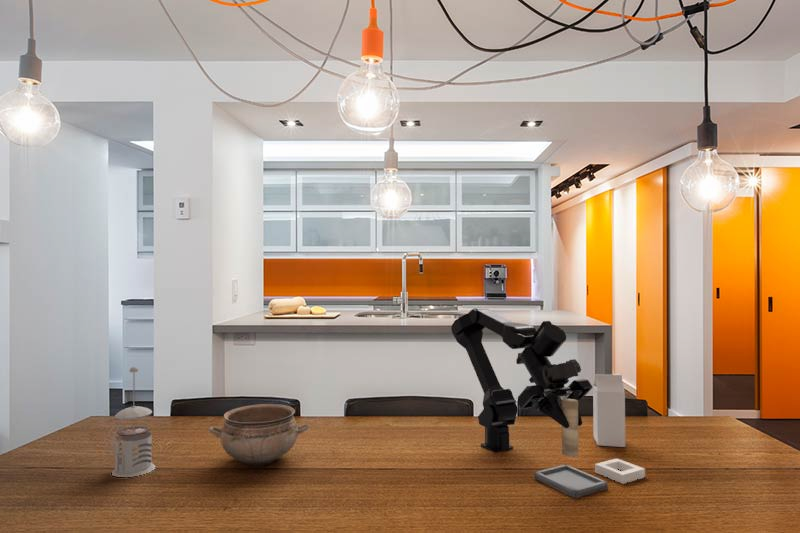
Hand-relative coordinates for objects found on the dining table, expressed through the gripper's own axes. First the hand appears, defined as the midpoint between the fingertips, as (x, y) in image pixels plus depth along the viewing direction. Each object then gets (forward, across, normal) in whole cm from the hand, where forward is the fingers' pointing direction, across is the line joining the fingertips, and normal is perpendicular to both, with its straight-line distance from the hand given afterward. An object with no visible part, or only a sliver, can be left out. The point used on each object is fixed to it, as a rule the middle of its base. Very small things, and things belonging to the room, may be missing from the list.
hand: (574, 426), depth 115 cm
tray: (+8, 0, +10) cm, 13 cm away
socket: (+10, +14, +9) cm, 19 cm away
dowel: (+4, 0, +6) cm, 7 cm away
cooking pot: (-24, -60, +43) cm, 77 cm away
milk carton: (-3, +30, +22) cm, 38 cm away
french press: (-29, -89, +48) cm, 105 cm away
